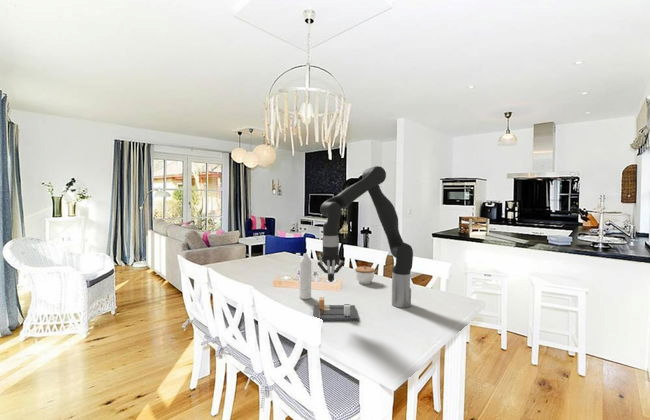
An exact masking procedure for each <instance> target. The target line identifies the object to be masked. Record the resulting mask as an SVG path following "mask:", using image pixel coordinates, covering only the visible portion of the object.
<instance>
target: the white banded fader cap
mask: <svg viewBox="0 0 650 420" xmlns="http://www.w3.org/2000/svg"><path fill="white" fill-rule="evenodd" d="M343 305H344V315H345V316H350V305H351V303H350V302H344V303H343Z"/></svg>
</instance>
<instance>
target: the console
mask: <svg viewBox="0 0 650 420" xmlns="http://www.w3.org/2000/svg"><path fill="white" fill-rule="evenodd" d="M312 311H313V313H312V317H313V316H314V317H317V318H320V319H322V320H323V321H322V322H359V320H360V319H359V315H358V312H357V311H358V310H357V308H356V305H355V304H354V305H353V304H350V316H345V315H344V304H324V309H319V304H313V310H312Z"/></svg>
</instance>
